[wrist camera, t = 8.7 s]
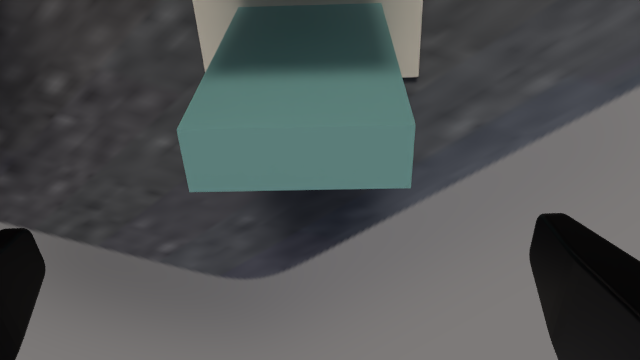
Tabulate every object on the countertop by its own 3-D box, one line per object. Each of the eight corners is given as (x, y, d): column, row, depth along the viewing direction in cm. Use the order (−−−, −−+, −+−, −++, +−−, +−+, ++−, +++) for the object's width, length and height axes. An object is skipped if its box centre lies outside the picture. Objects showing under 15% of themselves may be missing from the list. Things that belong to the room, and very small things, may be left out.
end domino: (380, 47, 19) (410, 188, 12) (243, 51, 20) (189, 191, 12) (381, 2, 19) (415, 124, 11) (238, 6, 19) (176, 129, 11)
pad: (423, -38, 18) (425, -36, 18) (417, 73, 20) (418, 77, 20) (190, -27, 18) (188, -25, 18) (208, 81, 21) (207, 84, 20)
